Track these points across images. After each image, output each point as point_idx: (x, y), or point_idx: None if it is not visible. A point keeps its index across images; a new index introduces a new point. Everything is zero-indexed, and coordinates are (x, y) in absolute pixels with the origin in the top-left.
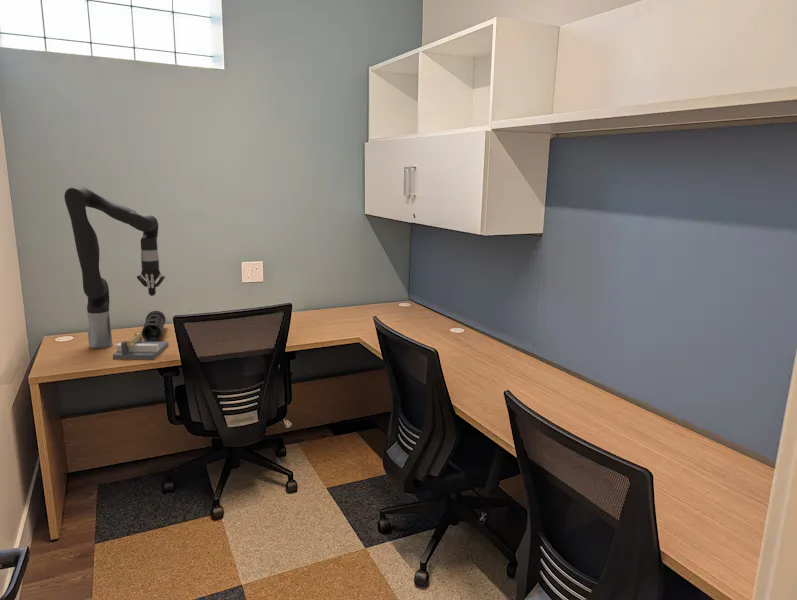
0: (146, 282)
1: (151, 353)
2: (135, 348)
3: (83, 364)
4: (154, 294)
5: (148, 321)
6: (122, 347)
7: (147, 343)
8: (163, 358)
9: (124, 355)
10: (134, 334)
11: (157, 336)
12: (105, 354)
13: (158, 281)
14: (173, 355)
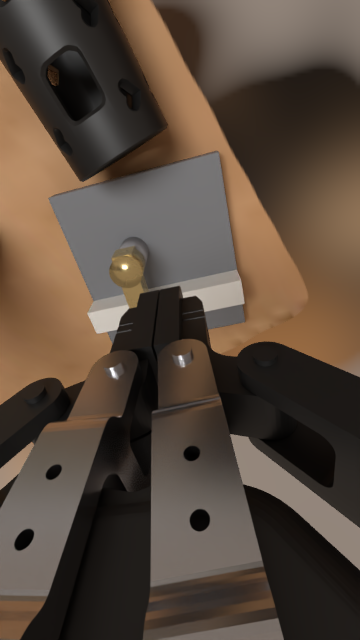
0: (27, 444)
1: (229, 309)
2: None
3: None
4: (181, 292)
5: (29, 63)
6: None
7: (143, 209)
8: (269, 298)
9: None
10: (114, 280)
11: (127, 100)
12: (60, 312)
13: (358, 513)
14: (292, 263)
